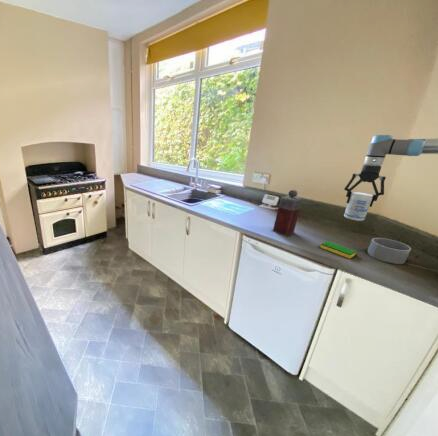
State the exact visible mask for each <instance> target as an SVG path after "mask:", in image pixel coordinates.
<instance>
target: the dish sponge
mask: <svg viewBox="0 0 438 436" xmlns="http://www.w3.org/2000/svg"><path fill="white" fill-rule="evenodd" d="M320 249H323V250H326V251H327V252H331V253H334V254H337V255H338V256H341V257H344V258H347V259H351V258H353V257H355V256H356V254H357V250H353V249H351V248H348V247H345V246H343V245H339V244H337V243H334V242H331V241H328V240H326V241H324V242H322V243H321V244H320Z"/></svg>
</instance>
